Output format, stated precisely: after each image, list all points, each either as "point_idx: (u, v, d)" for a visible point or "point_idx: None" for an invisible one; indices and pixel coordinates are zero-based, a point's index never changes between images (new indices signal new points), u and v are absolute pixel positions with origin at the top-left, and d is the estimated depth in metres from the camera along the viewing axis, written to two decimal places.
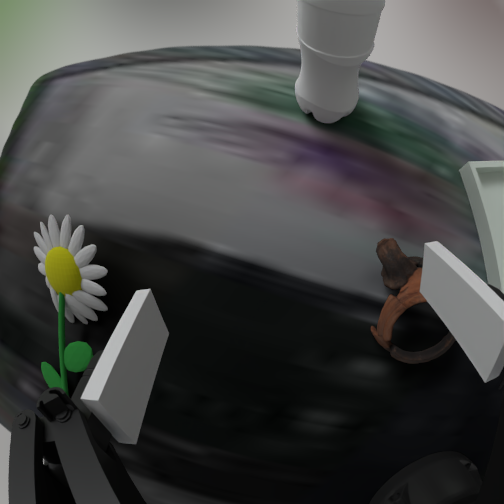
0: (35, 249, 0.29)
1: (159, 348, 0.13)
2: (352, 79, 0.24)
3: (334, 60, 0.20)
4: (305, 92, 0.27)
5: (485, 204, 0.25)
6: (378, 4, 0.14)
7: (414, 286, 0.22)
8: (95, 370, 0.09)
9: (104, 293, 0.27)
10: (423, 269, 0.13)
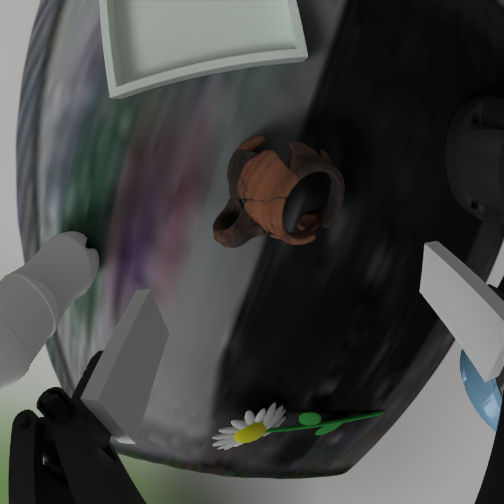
0: (235, 446, 0.42)
1: (159, 348, 0.13)
2: (57, 267, 0.24)
3: (56, 313, 0.21)
4: (80, 294, 0.28)
5: (162, 76, 0.21)
6: None
7: (264, 220, 0.23)
8: (95, 370, 0.09)
9: (263, 409, 0.38)
10: (423, 269, 0.13)
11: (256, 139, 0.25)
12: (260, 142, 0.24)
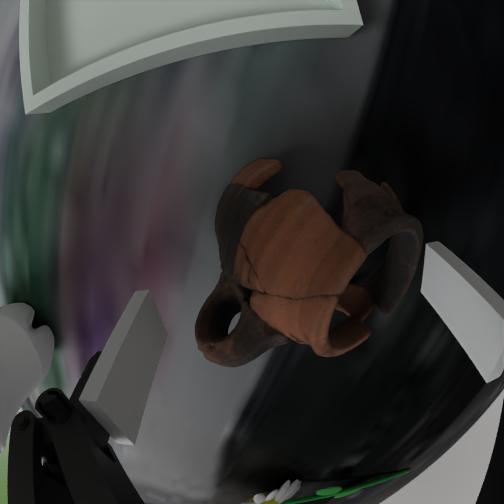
0: None
1: (158, 348, 0.13)
2: None
3: None
4: (34, 388, 0.17)
5: (98, 68, 0.11)
6: None
7: (290, 327, 0.12)
8: (93, 371, 0.08)
9: (276, 490, 0.27)
10: (424, 269, 0.13)
11: (266, 165, 0.13)
12: (273, 171, 0.13)
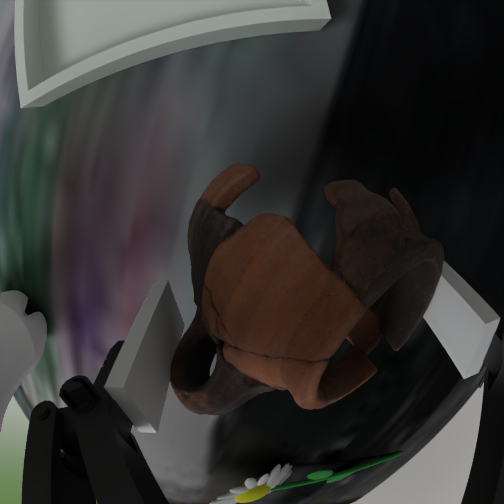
0: None
1: (176, 338, 0.13)
2: None
3: None
4: (28, 373, 0.18)
5: (89, 64, 0.11)
6: None
7: (273, 381, 0.09)
8: (118, 358, 0.09)
9: (266, 474, 0.29)
10: None
11: (238, 175, 0.11)
12: (248, 183, 0.10)
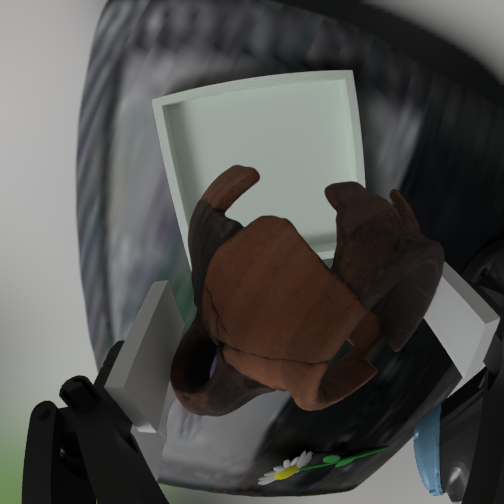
0: None
1: (176, 338, 0.13)
2: None
3: (165, 436, 0.29)
4: None
5: None
6: None
7: (274, 382, 0.09)
8: (118, 358, 0.09)
9: (297, 457, 0.46)
10: None
11: (238, 176, 0.11)
12: (248, 184, 0.10)
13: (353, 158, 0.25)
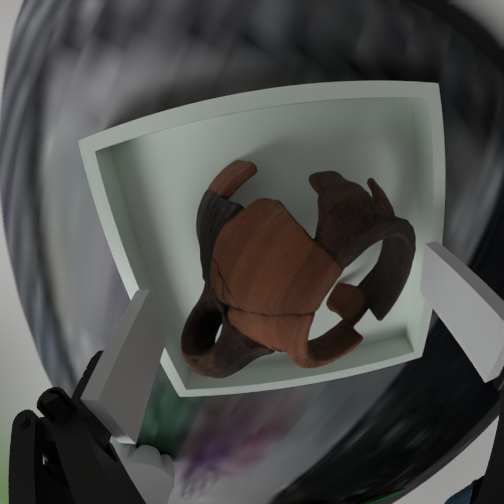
0: None
1: (159, 348, 0.13)
2: (149, 498, 0.21)
3: None
4: None
5: (251, 388, 0.19)
6: None
7: (271, 341, 0.11)
8: (95, 370, 0.09)
9: None
10: (423, 269, 0.13)
11: (239, 169, 0.13)
12: (248, 175, 0.13)
13: (426, 234, 0.14)
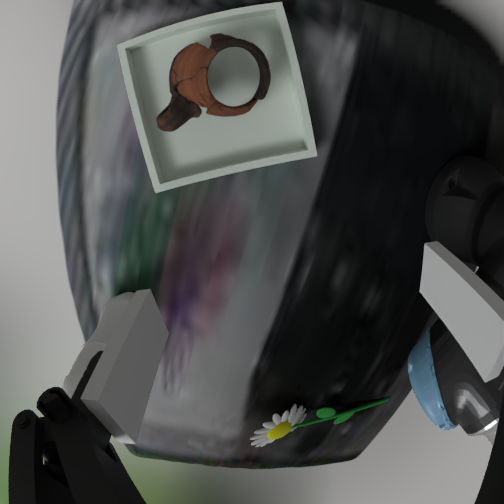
0: (270, 442, 0.52)
1: (159, 348, 0.13)
2: None
3: None
4: None
5: (200, 177, 0.30)
6: None
7: (195, 95, 0.23)
8: (95, 370, 0.09)
9: (287, 411, 0.48)
10: (423, 269, 0.13)
11: (187, 45, 0.24)
12: None
13: (291, 71, 0.26)
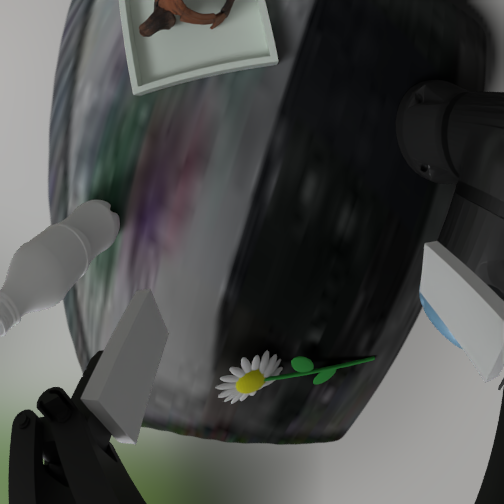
0: (241, 400, 0.51)
1: (159, 348, 0.13)
2: (89, 222, 0.32)
3: (89, 255, 0.30)
4: (104, 248, 0.36)
5: (173, 79, 0.30)
6: (47, 256, 0.23)
7: (171, 5, 0.22)
8: (95, 370, 0.09)
9: (257, 356, 0.47)
10: (423, 269, 0.13)
11: None
12: None
13: None
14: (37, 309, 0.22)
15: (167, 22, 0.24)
